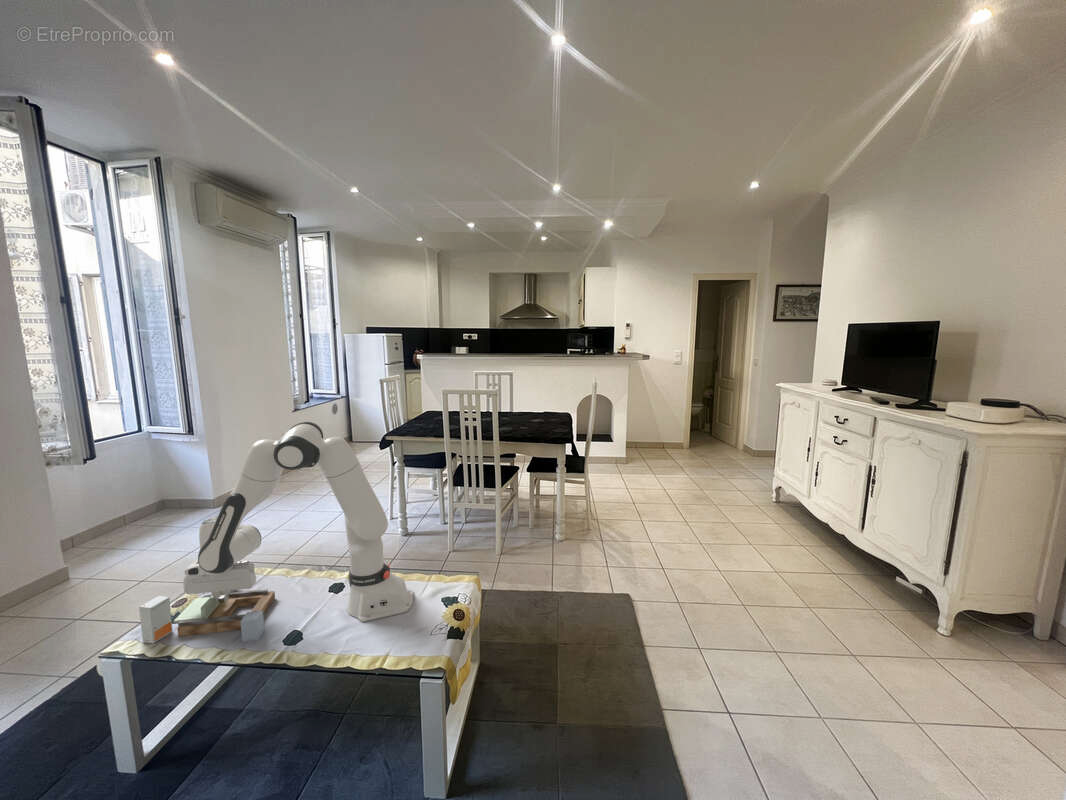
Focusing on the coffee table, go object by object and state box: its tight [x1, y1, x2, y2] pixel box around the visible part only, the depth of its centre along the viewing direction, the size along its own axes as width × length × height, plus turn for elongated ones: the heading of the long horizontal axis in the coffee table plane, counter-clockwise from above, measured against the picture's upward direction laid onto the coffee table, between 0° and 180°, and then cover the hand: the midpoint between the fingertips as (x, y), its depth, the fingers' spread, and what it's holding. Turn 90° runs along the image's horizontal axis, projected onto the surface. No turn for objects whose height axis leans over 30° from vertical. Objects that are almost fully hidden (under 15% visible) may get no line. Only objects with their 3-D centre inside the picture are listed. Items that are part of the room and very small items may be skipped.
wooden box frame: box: [177, 588, 276, 637], centre depth 142 cm, size 22×16×4 cm
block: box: [240, 611, 265, 643], centre depth 132 cm, size 4×4×7 cm
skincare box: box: [138, 595, 173, 645], centre depth 131 cm, size 6×4×12 cm
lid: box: [173, 591, 225, 624], centre depth 139 cm, size 9×12×4 cm
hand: (222, 601), depth 141 cm, fingers closed
